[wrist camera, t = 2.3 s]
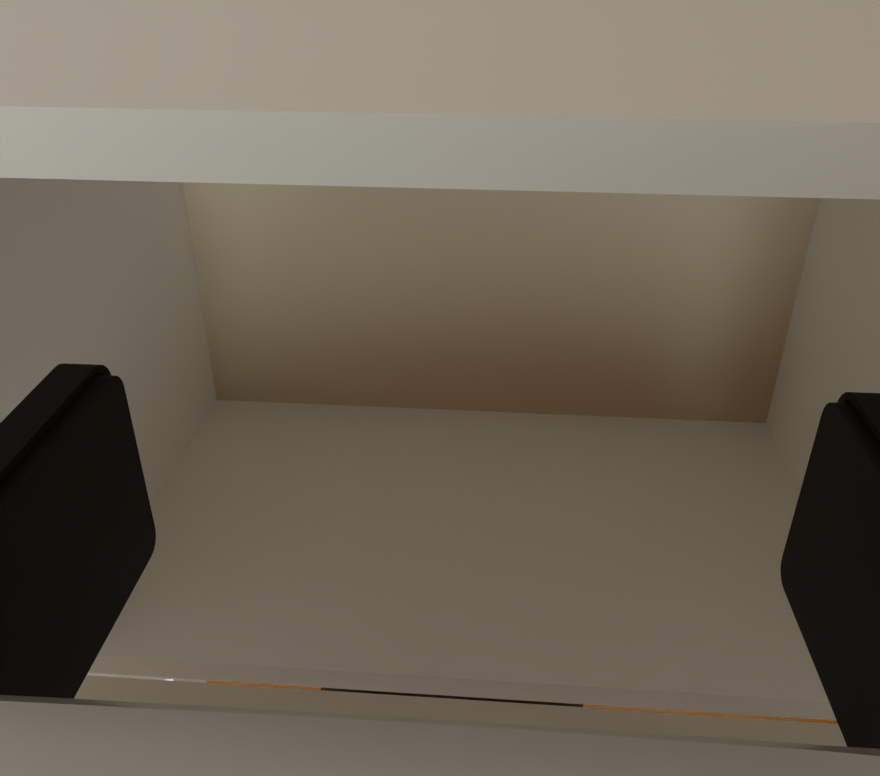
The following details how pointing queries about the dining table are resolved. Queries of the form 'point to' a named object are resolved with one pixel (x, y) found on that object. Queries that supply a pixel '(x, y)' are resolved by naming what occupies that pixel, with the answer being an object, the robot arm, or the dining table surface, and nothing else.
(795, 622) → the carton
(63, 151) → the flap
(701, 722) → the flap
